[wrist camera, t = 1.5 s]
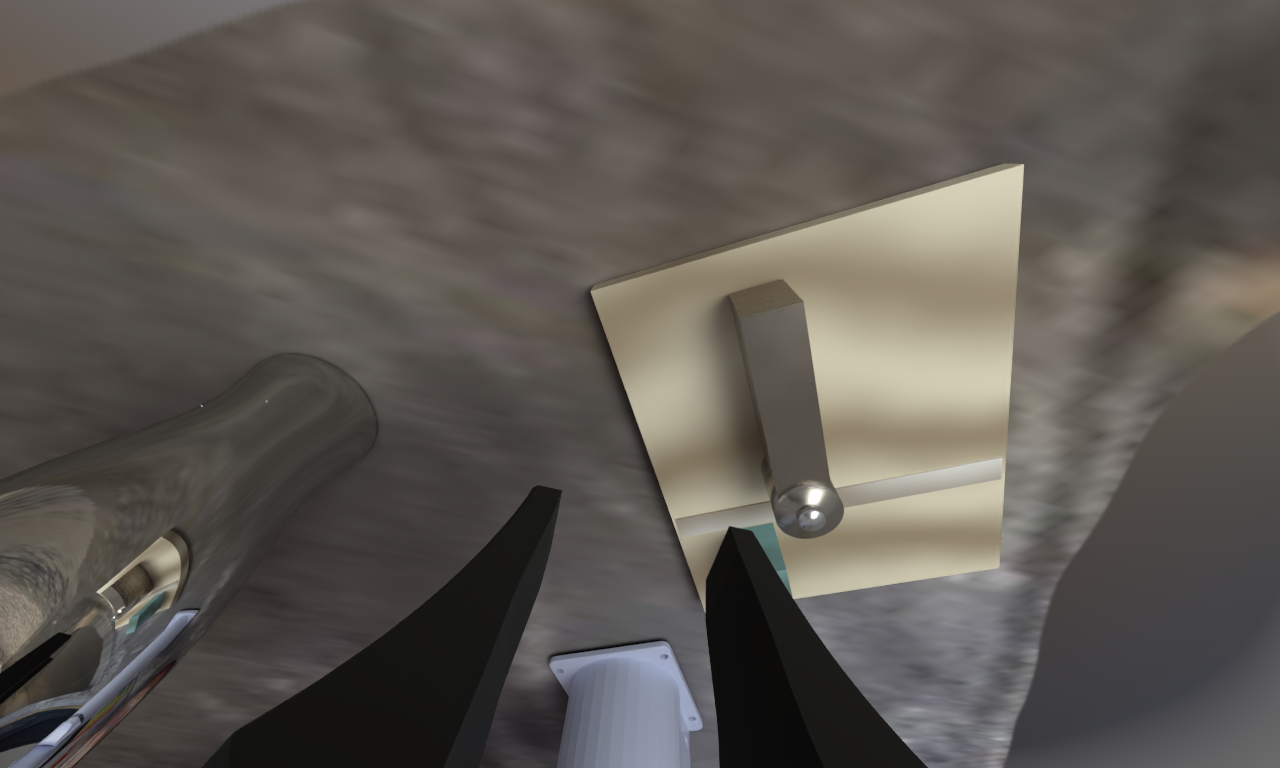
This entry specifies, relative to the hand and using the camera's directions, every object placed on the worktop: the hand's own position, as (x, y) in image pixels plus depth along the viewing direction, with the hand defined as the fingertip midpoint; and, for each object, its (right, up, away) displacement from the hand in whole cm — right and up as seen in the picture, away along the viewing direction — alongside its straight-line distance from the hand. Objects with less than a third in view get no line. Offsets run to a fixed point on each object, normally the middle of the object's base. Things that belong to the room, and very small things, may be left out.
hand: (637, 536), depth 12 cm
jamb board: (+8, +1, +9) cm, 12 cm away
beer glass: (-15, +3, +10) cm, 19 cm away
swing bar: (+6, +3, +7) cm, 10 cm away
